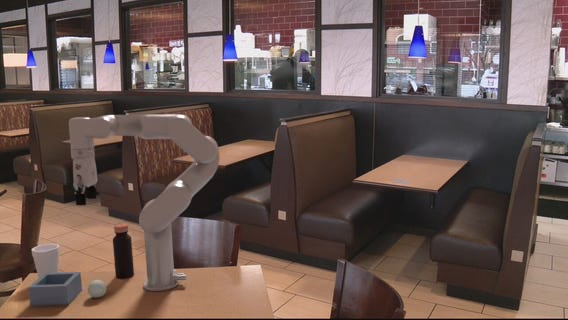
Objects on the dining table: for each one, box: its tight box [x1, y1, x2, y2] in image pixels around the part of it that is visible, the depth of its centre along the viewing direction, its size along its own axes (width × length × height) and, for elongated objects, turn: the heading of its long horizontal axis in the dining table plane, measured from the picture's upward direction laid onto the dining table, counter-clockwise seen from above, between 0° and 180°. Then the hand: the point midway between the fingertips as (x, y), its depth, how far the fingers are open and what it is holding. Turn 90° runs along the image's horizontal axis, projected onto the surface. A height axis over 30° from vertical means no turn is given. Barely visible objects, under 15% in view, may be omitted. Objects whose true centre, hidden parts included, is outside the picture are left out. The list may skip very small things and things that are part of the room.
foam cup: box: [31, 243, 61, 278], centre depth 193 cm, size 10×9×13 cm
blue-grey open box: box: [27, 271, 83, 308], centre depth 177 cm, size 13×13×7 cm
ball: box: [87, 279, 107, 299], centre depth 177 cm, size 6×6×6 cm
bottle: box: [112, 223, 135, 280], centre depth 195 cm, size 7×7×20 cm
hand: (86, 201), depth 180 cm, fingers open, 9 cm apart
